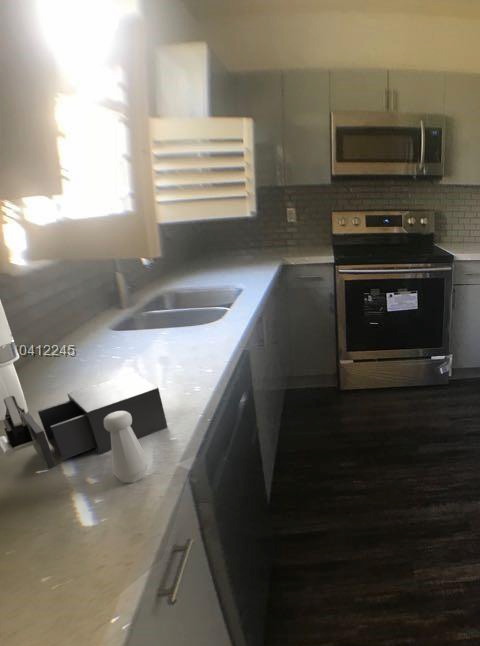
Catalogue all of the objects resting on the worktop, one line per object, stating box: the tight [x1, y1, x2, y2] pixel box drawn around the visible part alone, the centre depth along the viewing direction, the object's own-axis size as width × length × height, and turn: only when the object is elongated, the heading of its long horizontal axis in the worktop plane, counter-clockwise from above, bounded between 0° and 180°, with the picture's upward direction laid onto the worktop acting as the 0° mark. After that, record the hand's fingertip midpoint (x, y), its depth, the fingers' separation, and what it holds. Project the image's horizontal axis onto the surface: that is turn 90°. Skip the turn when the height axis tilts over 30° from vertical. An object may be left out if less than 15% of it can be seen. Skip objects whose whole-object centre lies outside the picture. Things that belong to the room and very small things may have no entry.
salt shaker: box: [104, 411, 149, 484], centre depth 82 cm, size 6×6×13 cm
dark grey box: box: [66, 372, 168, 455], centre depth 98 cm, size 14×13×10 cm
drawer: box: [0, 399, 97, 470], centre depth 90 cm, size 17×11×8 cm, turn 138°
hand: (22, 444), depth 86 cm, fingers closed
